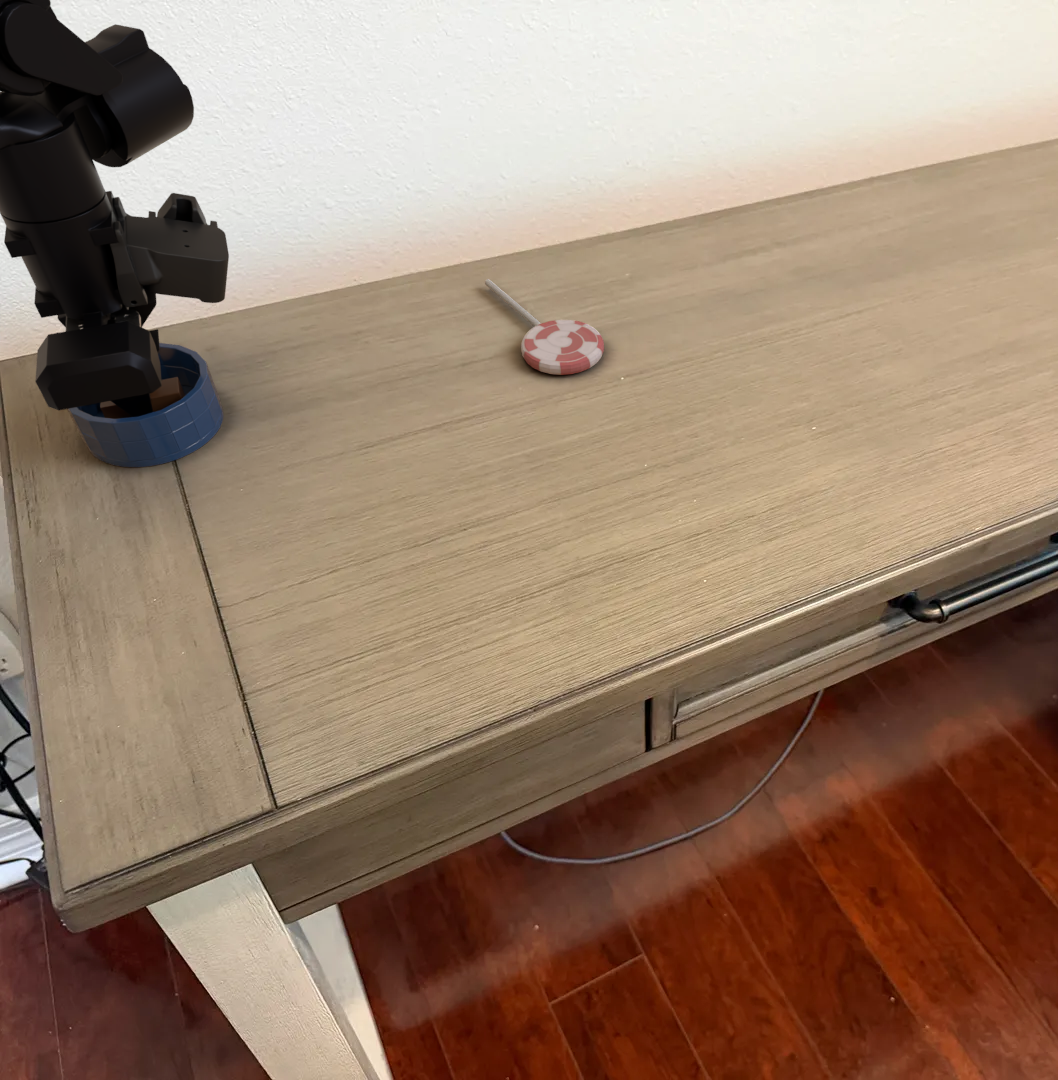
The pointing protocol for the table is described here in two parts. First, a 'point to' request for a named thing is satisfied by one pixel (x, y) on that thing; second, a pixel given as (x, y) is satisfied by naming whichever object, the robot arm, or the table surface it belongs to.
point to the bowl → (157, 418)
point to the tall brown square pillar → (159, 398)
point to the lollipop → (556, 342)
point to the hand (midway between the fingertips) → (145, 408)
